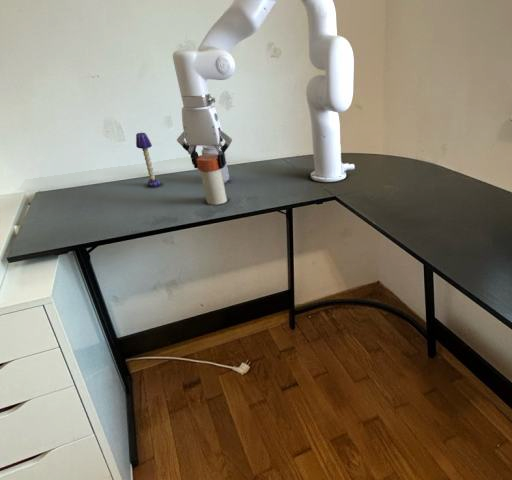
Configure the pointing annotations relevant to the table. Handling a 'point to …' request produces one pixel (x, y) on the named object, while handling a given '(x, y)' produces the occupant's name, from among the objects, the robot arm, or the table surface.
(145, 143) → the toy lamp
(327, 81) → the robot arm
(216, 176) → the jar
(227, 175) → the can
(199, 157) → the jar lid
